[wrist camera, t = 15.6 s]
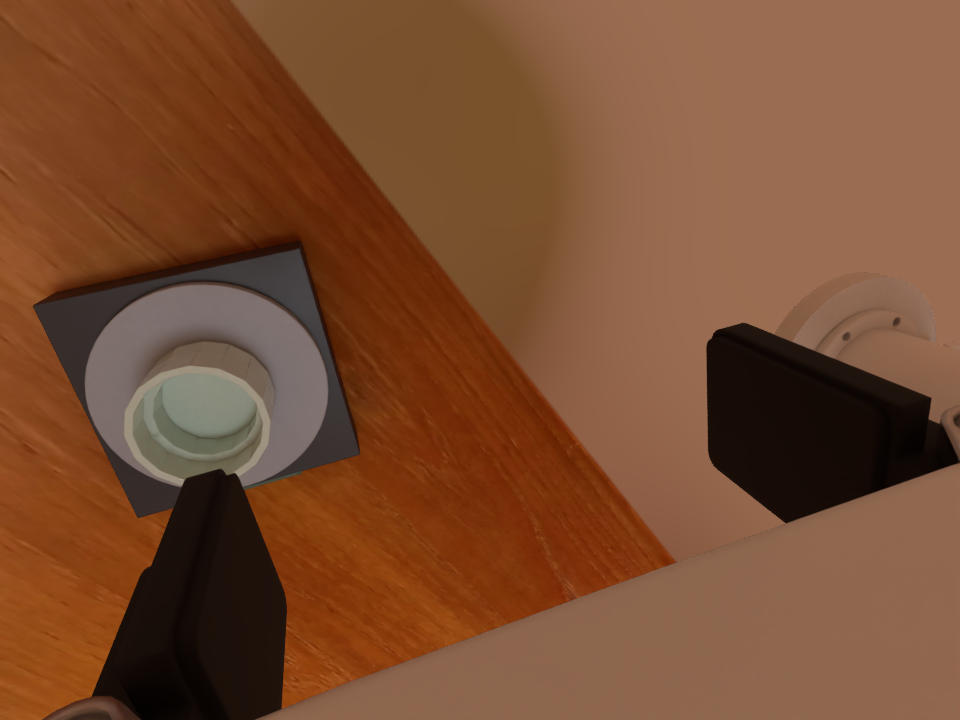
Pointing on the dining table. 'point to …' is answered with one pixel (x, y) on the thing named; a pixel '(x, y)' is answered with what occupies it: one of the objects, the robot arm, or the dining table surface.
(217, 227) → the dining table surface
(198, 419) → the bowl
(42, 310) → the scale
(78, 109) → the dining table surface
